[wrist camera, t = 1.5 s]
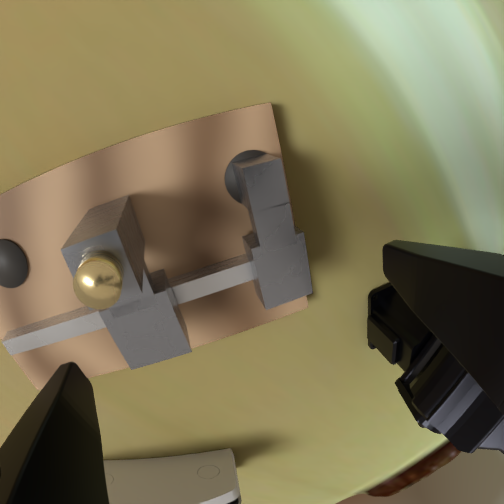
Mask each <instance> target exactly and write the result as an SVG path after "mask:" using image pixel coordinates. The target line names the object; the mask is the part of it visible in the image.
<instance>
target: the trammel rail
mask: <svg viewBox="0 0 504 504" xmlns="http://www.w3.org/2000/svg"><path fill="white" fill-rule="evenodd" d="M231 163H232V167H233V171H234V175H235V179H236V183H237V188H238V192H239V196H240V200H241V203H242V204H243V205H244V206H245V207H246V208H247V209H248V213H249V217H250V221H251V225H252V230H253V233H251V234H248V235H245V236H242V240H243V244H244V248H245V252H246V254H242V255H239V256H236V257H233V258H230V259H227V260H224V261H221V262H218V263H215V264H212V265H209V266H206V267H203V268H200V269H197V270H194V271H191V272H187V273H184V274H181V275H178V276H175V277H172V278H169V279H168V281H169V284H170V286H171V289H172V291H173V294H174V296H175V299H176V301H177V304H181V303H185V302H188V301H191V300H194V299H197V298H200V297H203V296H206V295H209V294H212V293H215V292H218V291H221V290H224V289H227V288H230V287H233V286H236V285H239V284H242V283H245V282H248V281H251V280H253V283H254V287H255V291H256V294H257V296H258V298H259V299H260V301H261V303H262V304H263V306H264V308H265V309H266V310H268V309H271V308H274V307H276V306H279V305H282V304H285V303H287V302H290V301H293V300H295V299H298V298H301V297H303V296H306V295H309V294H311V293H313V291H312V283H311V276H310V270H309V263H308V256H307V250H306V243H305V237H304V232H303V231H302V230H300V229H299V228H298V227H296V226H295V225H294V224H293V219H292V213H291V208H290V202H289V197H288V192H287V187H286V181H285V176H284V171H283V166H282V161H281V158H278V157H275V156H272V155H269V154H262V155H258V156H254V157H250V158H246V159H243V160H239V161H235V162H231ZM102 328H106V325H105V324H104V322H103V320H102V318H101V316H100V314H99V309H94V310H91V311H90V310H89V308H88V307H87V306H84V307H81V308H78V309H75V310H72V311H68V312H65V313H62V314H59V315H56V316H53V317H50V318H47V319H44V320H41V321H38V322H35V323H32V324H29V325H26V326H23V327H20V328H17V329H14V330H11V331H8V332H7V333H6V335H5V336H4V338H3V340H2V343H3V344H4V346H5V347H6V349H7V350H8V352H9V353H10V355H14V354H18V353H21V352H25V351H28V350H32V349H35V348H39V347H42V346H45V345H49V344H52V343H56V342H59V341H62V340H66V339H69V338H73V337H76V336H79V335H83V334H86V333H89V332H92V331H96V330H99V329H102Z"/></svg>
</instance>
